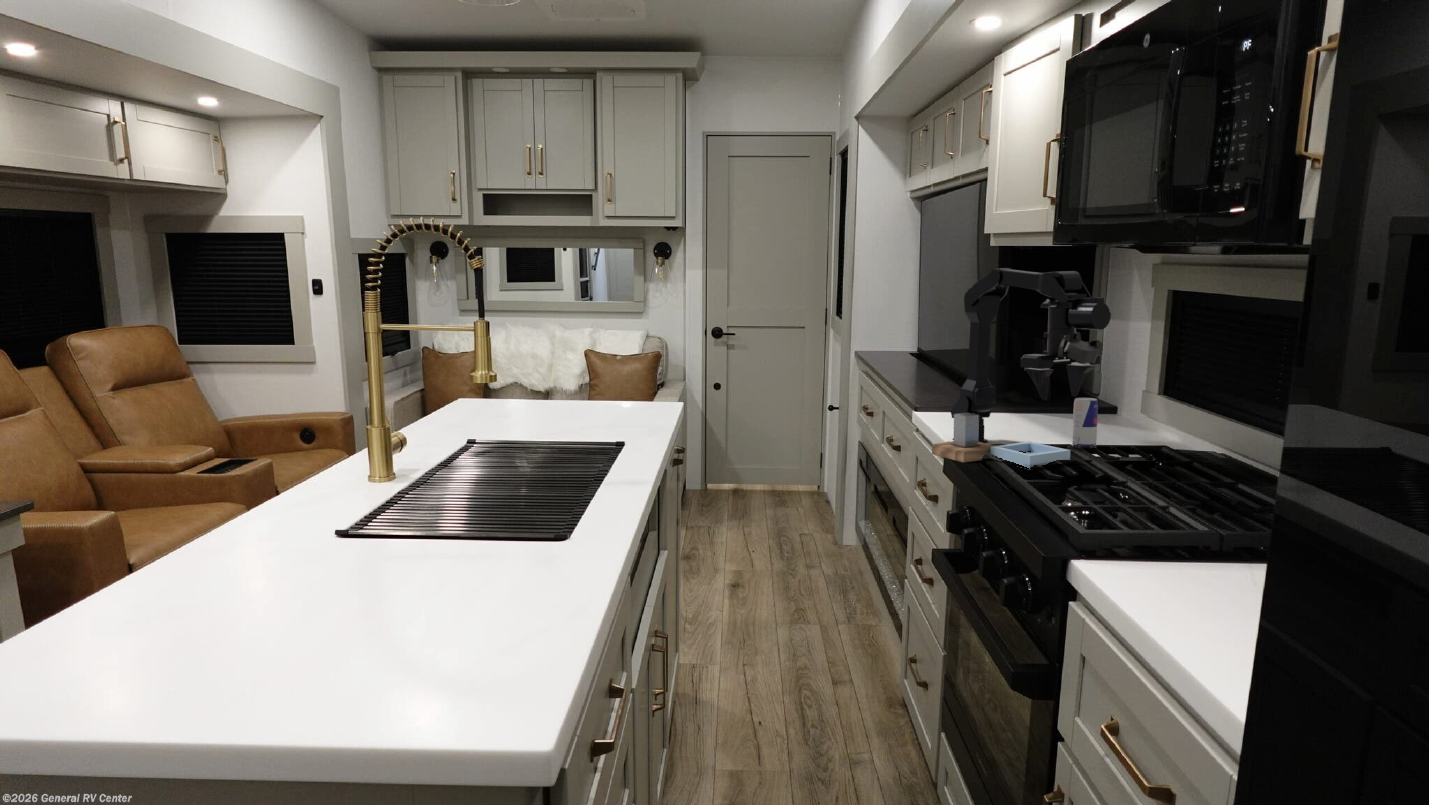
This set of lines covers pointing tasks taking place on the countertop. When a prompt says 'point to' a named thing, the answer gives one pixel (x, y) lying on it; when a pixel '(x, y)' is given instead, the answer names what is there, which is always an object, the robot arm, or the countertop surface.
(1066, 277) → the robot arm
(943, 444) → the walnut socket block
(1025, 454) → the blue tray
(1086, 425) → the energy drink
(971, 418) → the gray rectangular block
